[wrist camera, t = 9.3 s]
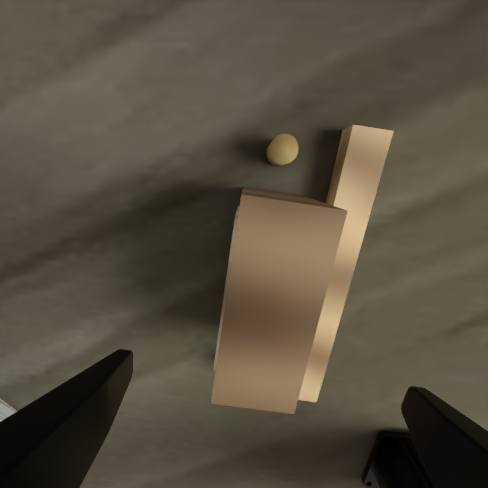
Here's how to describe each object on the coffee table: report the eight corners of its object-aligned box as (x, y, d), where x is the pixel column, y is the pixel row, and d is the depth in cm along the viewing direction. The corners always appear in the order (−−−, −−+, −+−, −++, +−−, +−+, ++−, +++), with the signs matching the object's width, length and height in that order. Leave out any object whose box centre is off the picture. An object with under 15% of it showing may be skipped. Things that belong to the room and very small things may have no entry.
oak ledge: (311, 385, 21) (320, 412, 19) (230, 375, 21) (228, 401, 18) (379, 135, 16) (403, 128, 13) (271, 118, 16) (276, 107, 13)
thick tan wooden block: (278, 333, 20) (294, 414, 13) (220, 325, 20) (207, 403, 13) (307, 197, 17) (347, 210, 10) (240, 186, 17) (237, 193, 10)
